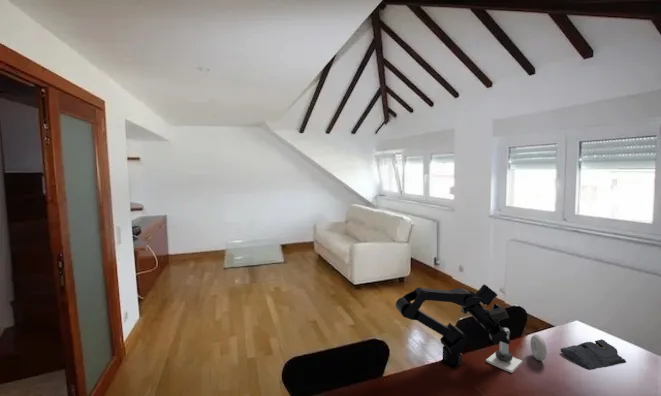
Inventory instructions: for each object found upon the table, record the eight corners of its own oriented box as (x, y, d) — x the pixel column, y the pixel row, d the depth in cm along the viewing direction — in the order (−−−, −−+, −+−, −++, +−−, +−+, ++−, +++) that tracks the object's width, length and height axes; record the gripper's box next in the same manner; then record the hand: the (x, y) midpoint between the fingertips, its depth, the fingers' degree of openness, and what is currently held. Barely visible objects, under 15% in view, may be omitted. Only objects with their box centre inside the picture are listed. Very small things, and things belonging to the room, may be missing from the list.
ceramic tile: (486, 361, 135) (486, 359, 135) (497, 352, 142) (497, 350, 141) (511, 373, 128) (511, 370, 127) (522, 363, 134) (522, 360, 134)
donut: (547, 366, 131) (548, 342, 130) (538, 365, 132) (539, 341, 131) (537, 352, 141) (538, 330, 140) (528, 351, 142) (529, 329, 141)
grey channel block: (514, 362, 131) (515, 333, 130) (498, 361, 132) (499, 332, 131) (509, 354, 137) (510, 326, 136) (493, 352, 138) (494, 325, 137)
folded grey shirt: (553, 351, 142) (553, 341, 142) (592, 343, 148) (592, 333, 147) (588, 372, 128) (589, 360, 127) (630, 362, 133) (631, 351, 133)
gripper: (502, 310, 124) (533, 341, 123) (488, 292, 142) (515, 318, 141) (479, 329, 126) (510, 359, 125) (468, 308, 144) (495, 334, 143)
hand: (507, 341), depth 133 cm, fingers closed on grey channel block, 2 cm apart
